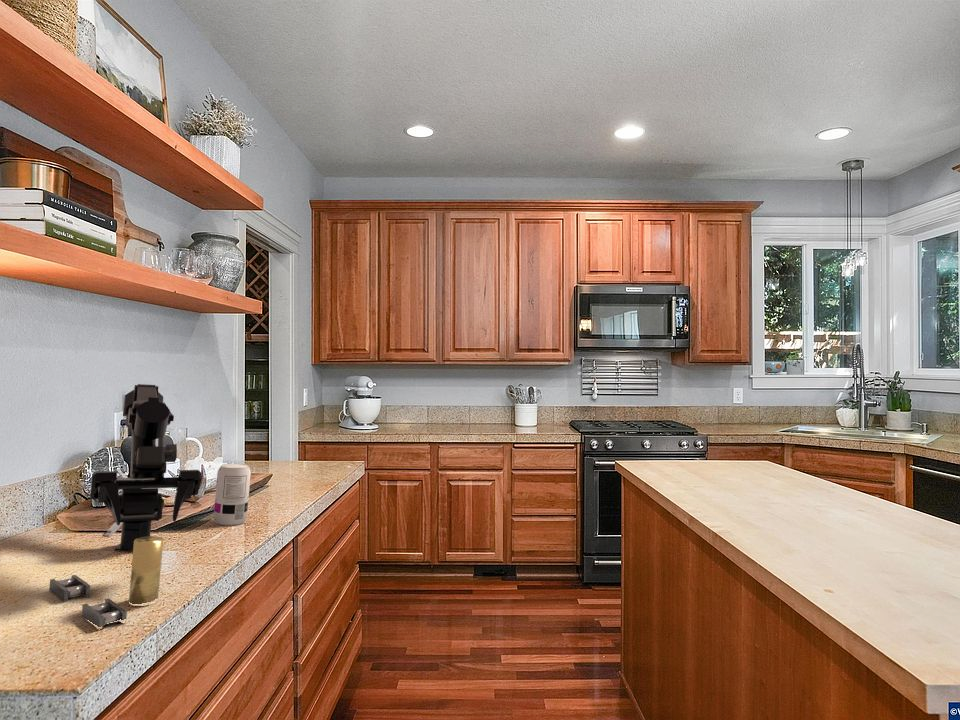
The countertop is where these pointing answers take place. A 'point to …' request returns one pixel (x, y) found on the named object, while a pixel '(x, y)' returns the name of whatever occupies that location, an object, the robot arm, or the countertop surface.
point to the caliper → (113, 529)
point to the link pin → (145, 569)
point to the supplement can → (232, 494)
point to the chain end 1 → (69, 588)
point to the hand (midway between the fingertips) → (147, 522)
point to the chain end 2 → (103, 613)
